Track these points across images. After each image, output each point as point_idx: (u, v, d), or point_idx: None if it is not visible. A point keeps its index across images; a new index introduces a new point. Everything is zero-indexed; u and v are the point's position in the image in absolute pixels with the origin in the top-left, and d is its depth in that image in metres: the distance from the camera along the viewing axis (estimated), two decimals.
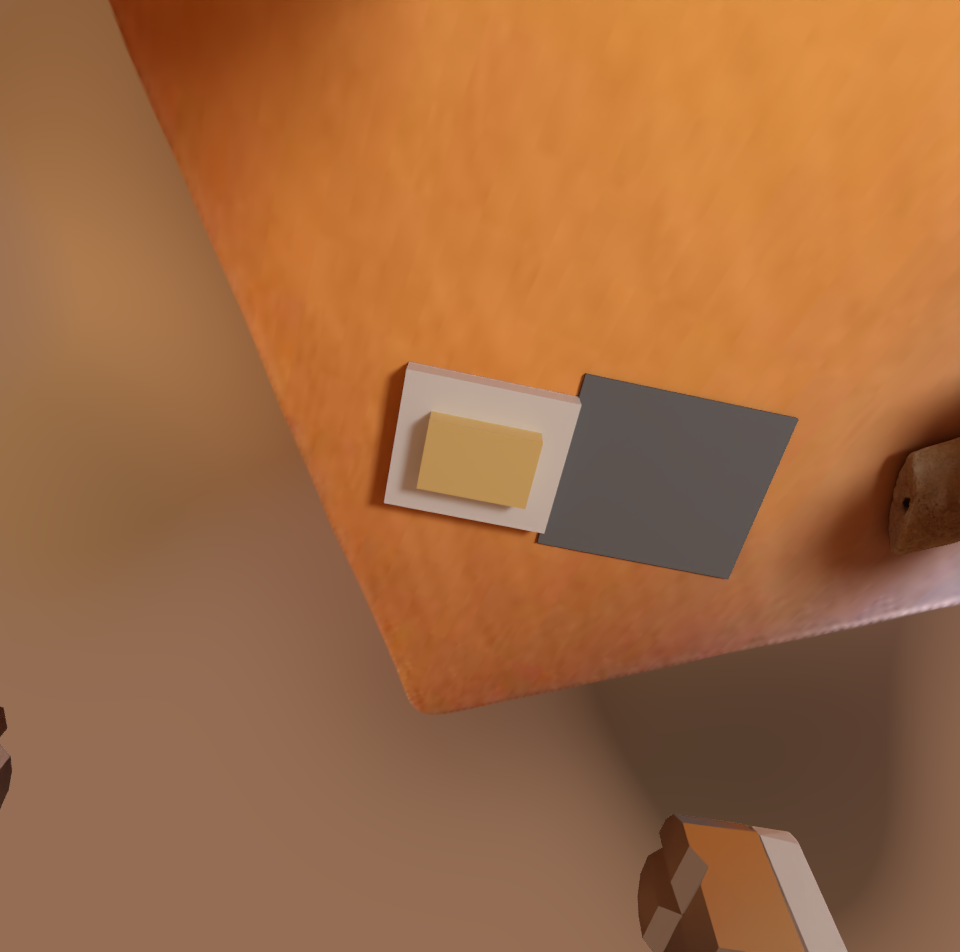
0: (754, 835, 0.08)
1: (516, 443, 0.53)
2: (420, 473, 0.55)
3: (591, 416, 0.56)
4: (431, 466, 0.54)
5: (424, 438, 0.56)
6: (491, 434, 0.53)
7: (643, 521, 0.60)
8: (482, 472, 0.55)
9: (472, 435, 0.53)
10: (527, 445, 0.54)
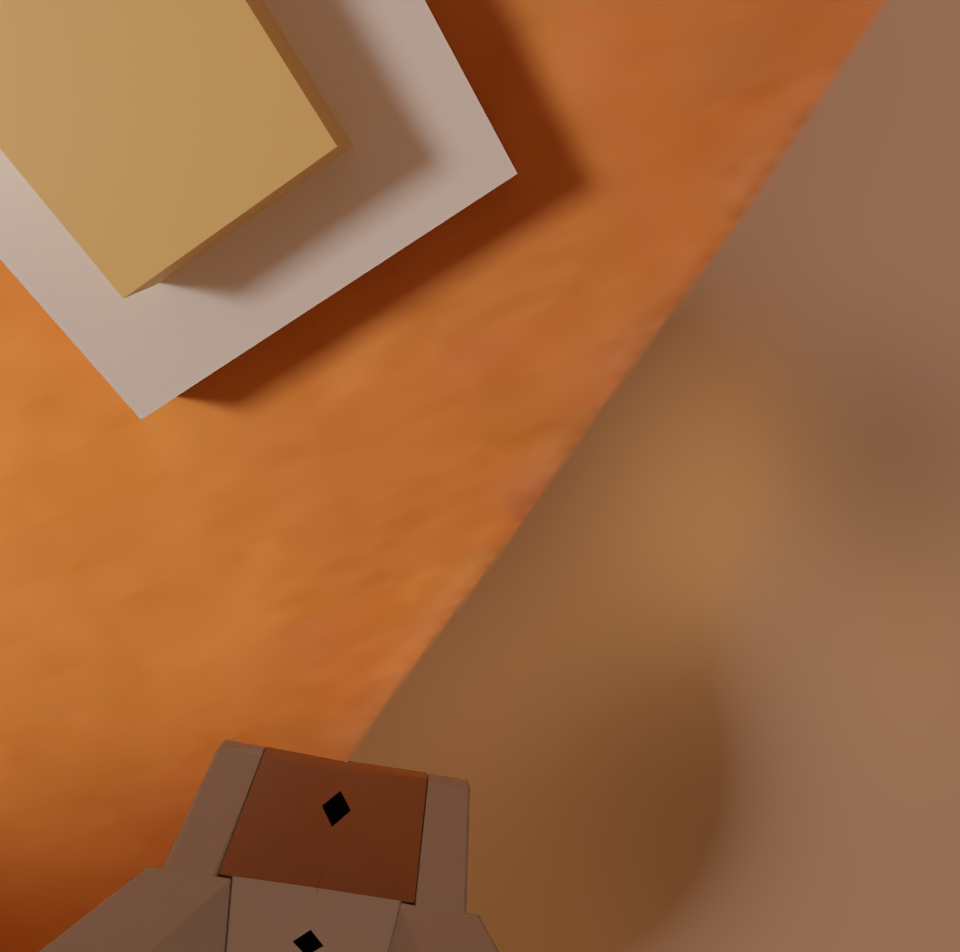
0: (421, 782, 0.08)
1: None
2: (281, 179, 0.14)
3: None
4: (229, 168, 0.14)
5: (238, 234, 0.17)
6: None
7: None
8: None
9: (21, 136, 0.14)
10: None
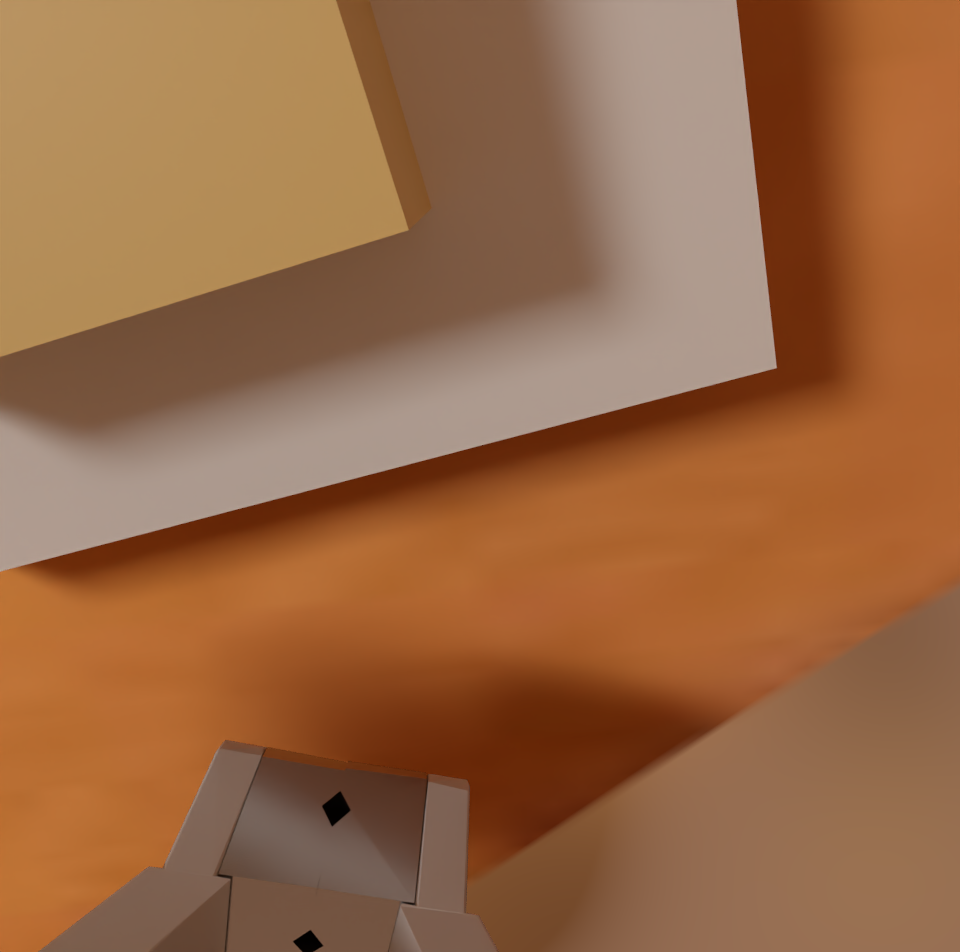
0: (422, 781, 0.08)
1: None
2: (223, 271, 0.05)
3: None
4: (70, 200, 0.05)
5: (110, 323, 0.07)
6: None
7: None
8: None
9: None
10: None
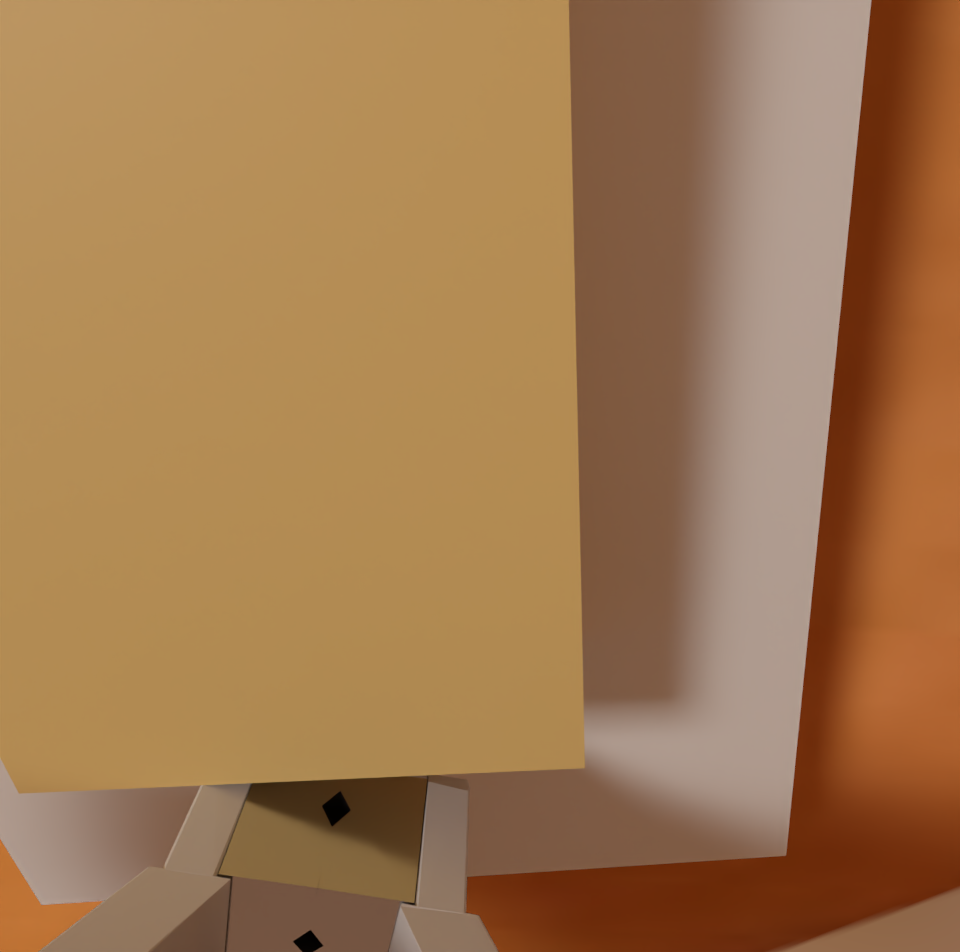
0: (422, 780, 0.08)
1: None
2: (450, 767, 0.07)
3: None
4: (362, 717, 0.07)
5: None
6: None
7: None
8: (234, 303, 0.05)
9: None
10: None
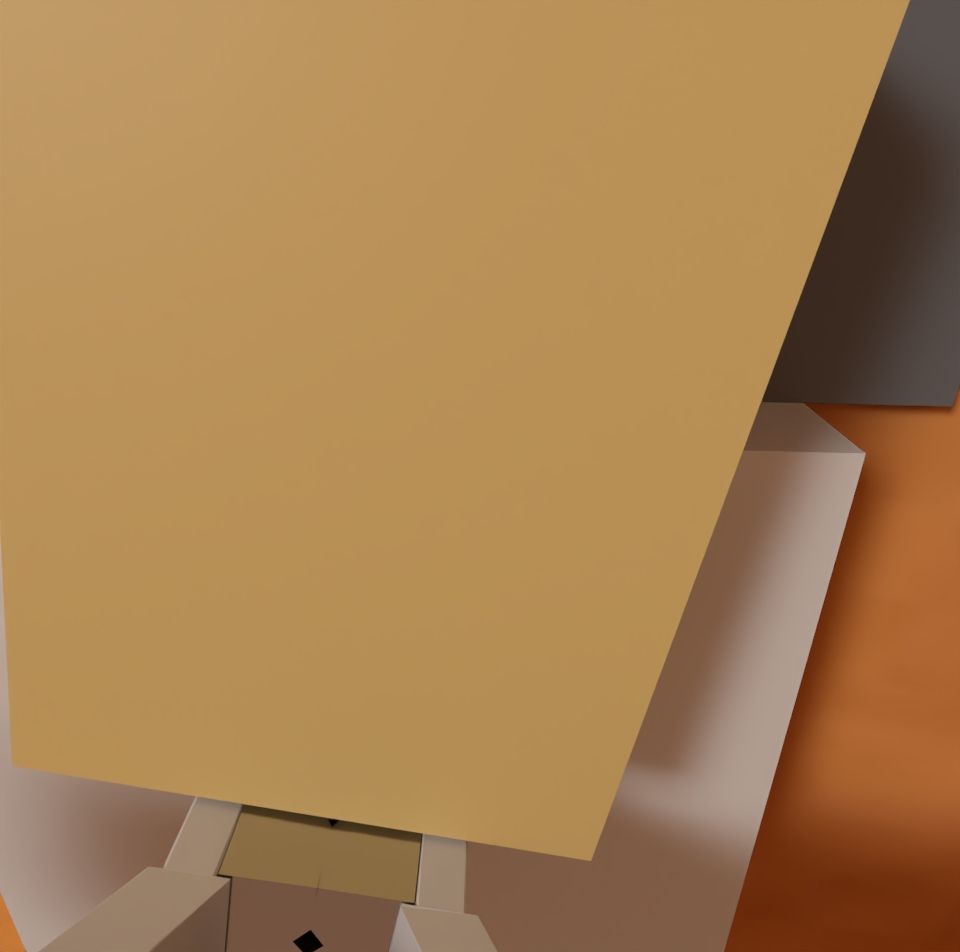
0: None
1: None
2: (466, 833, 0.07)
3: None
4: (401, 767, 0.07)
5: None
6: (10, 273, 0.05)
7: None
8: (447, 364, 0.05)
9: (64, 453, 0.06)
10: None
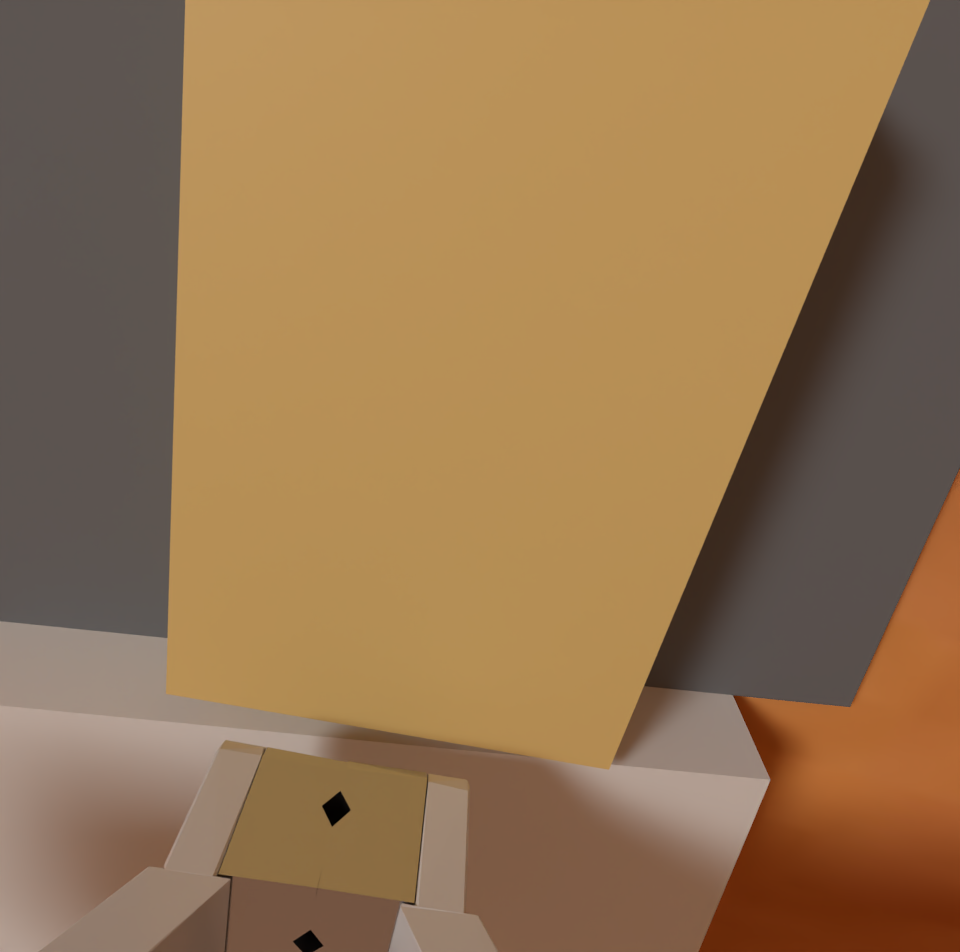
0: (422, 781, 0.08)
1: (239, 110, 0.06)
2: (513, 747, 0.09)
3: (70, 554, 0.10)
4: (466, 697, 0.09)
5: None
6: (193, 330, 0.07)
7: None
8: (517, 400, 0.07)
9: (224, 461, 0.07)
10: None
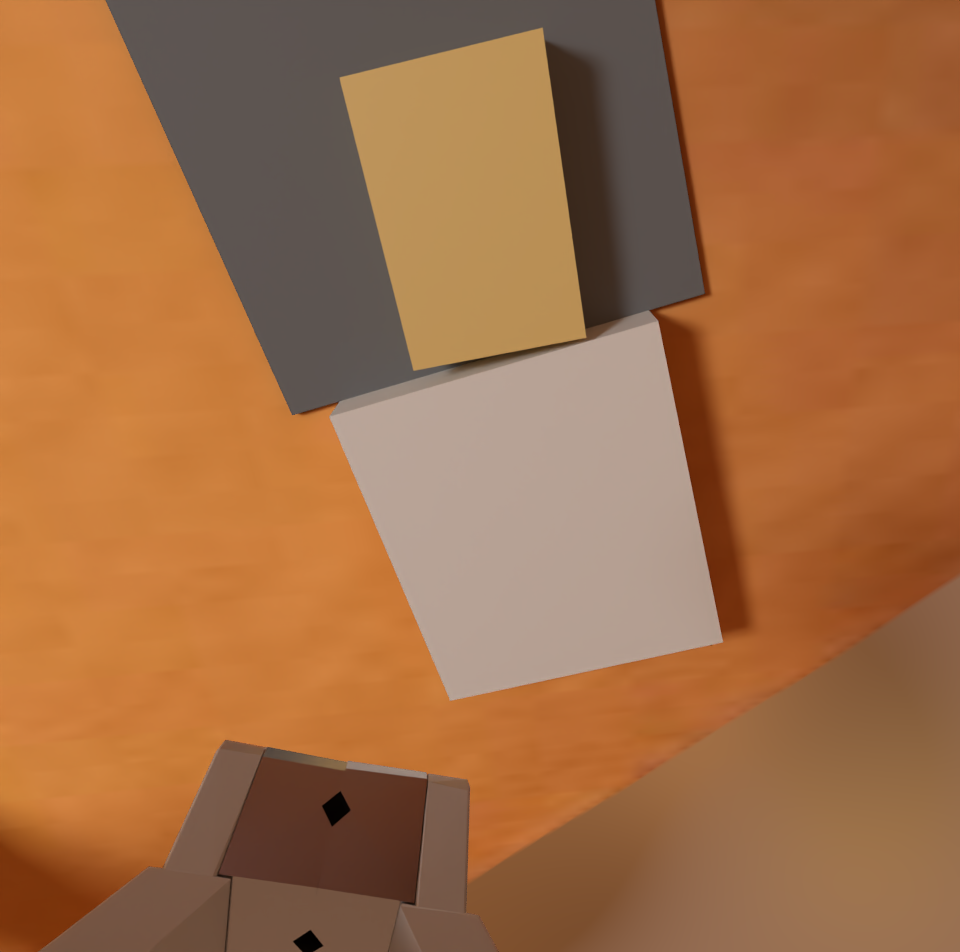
0: (422, 781, 0.08)
1: (373, 148, 0.21)
2: (545, 342, 0.23)
3: (358, 357, 0.26)
4: (518, 326, 0.23)
5: (556, 632, 0.29)
6: (381, 222, 0.22)
7: None
8: (484, 199, 0.21)
9: (404, 263, 0.22)
10: (366, 117, 0.20)
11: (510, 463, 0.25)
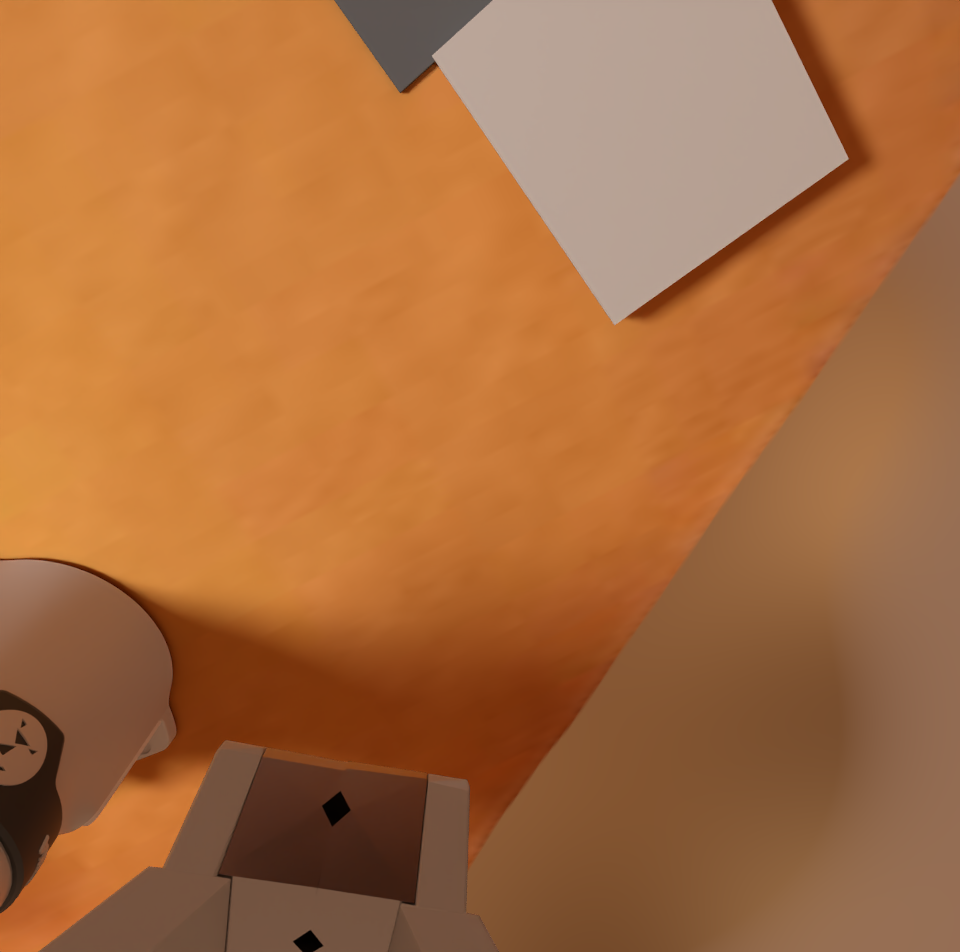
0: (422, 781, 0.08)
1: None
2: None
3: (438, 7, 0.29)
4: None
5: (689, 210, 0.31)
6: None
7: None
8: None
9: None
10: None
11: (598, 37, 0.28)
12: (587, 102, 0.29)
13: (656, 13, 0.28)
